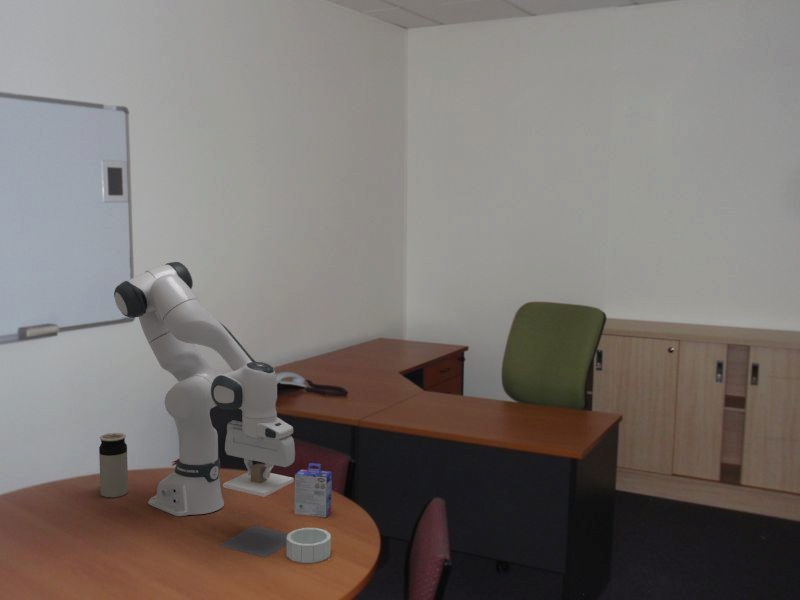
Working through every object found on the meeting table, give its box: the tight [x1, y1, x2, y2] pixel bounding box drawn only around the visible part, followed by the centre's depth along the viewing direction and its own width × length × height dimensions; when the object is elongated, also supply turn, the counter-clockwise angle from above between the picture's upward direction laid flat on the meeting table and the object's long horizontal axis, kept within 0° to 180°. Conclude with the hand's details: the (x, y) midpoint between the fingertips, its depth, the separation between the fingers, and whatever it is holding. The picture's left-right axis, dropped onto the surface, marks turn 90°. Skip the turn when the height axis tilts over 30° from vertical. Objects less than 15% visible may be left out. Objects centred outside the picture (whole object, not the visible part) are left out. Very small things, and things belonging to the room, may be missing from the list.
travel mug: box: [98, 432, 129, 499], centre depth 251 cm, size 8×8×18 cm
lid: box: [222, 462, 295, 498], centre depth 217 cm, size 13×13×5 cm
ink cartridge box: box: [293, 462, 333, 519], centre depth 239 cm, size 10×6×14 cm, turn 79°
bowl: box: [286, 527, 332, 564], centre depth 211 cm, size 11×11×5 cm
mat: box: [218, 525, 289, 558], centre depth 219 cm, size 15×15×1 cm
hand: (258, 476), depth 217 cm, fingers closed on lid, 3 cm apart
